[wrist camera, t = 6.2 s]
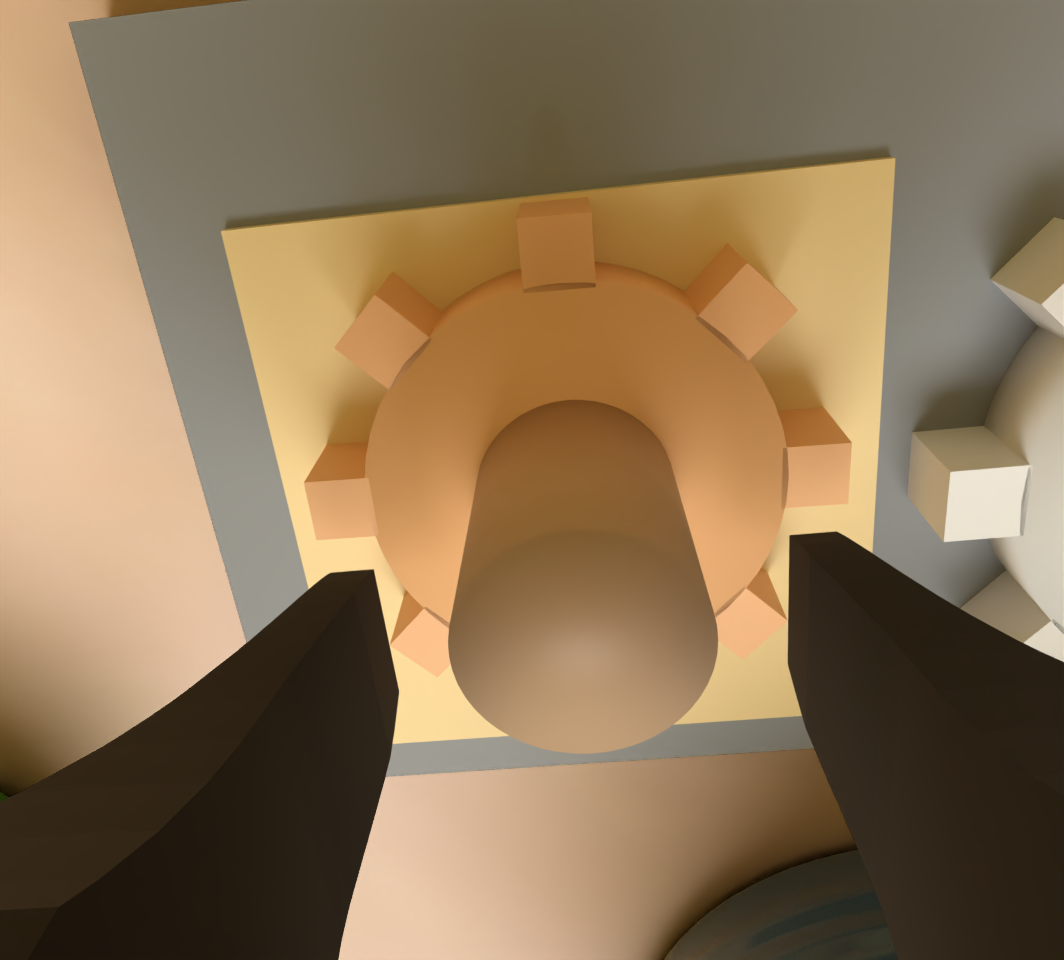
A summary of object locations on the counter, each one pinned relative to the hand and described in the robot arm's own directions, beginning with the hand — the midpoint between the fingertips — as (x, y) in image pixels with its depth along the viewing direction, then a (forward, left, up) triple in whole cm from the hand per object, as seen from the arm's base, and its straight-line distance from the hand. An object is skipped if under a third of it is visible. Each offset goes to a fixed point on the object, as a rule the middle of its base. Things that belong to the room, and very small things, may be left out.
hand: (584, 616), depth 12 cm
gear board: (-4, -1, -5) cm, 7 cm away
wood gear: (0, -1, -4) cm, 4 cm away
